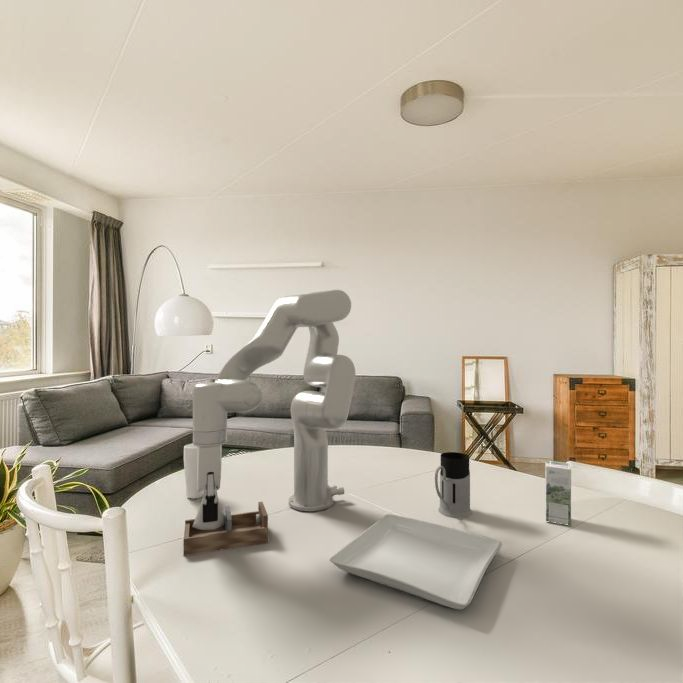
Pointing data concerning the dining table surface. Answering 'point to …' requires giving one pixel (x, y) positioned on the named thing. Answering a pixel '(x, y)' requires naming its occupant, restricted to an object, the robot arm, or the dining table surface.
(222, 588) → the dining table surface
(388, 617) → the dining table surface
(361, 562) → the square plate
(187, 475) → the drinking glass
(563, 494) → the syrup box
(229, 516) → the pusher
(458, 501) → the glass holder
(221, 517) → the flask
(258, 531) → the wooden tray
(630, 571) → the dining table surface
